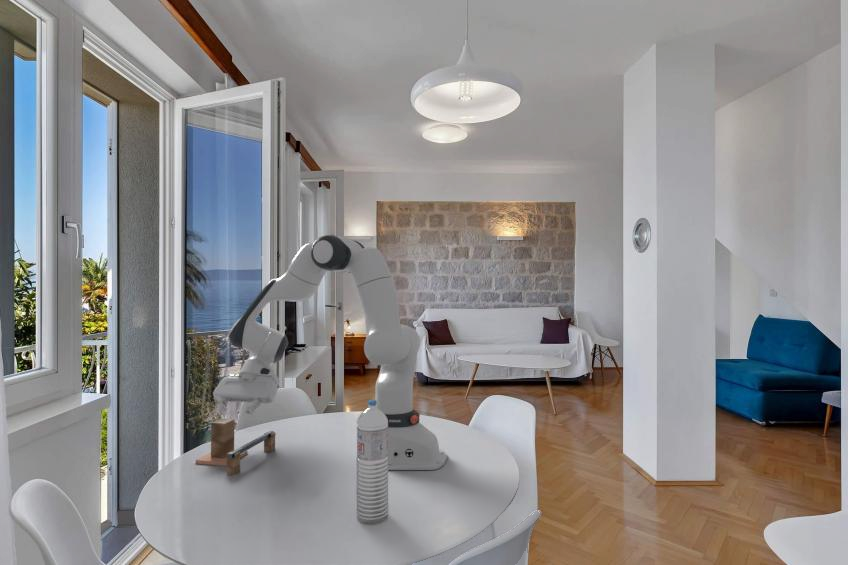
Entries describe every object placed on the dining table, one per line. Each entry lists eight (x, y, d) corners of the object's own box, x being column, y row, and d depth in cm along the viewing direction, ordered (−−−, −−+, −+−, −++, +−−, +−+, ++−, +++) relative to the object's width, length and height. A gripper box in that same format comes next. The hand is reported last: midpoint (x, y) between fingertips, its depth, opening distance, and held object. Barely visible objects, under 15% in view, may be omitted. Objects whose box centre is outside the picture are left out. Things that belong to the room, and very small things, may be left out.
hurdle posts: (275, 449, 140) (275, 432, 140) (235, 475, 120) (235, 454, 120) (267, 449, 140) (267, 431, 140) (226, 474, 120) (226, 453, 120)
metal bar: (273, 434, 140) (274, 431, 140) (232, 458, 120) (232, 454, 120) (270, 434, 140) (270, 430, 140) (228, 458, 120) (228, 453, 120)
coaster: (247, 453, 136) (247, 450, 136) (226, 466, 126) (226, 462, 126) (218, 451, 138) (218, 448, 138) (195, 463, 128) (195, 460, 128)
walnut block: (234, 453, 134) (234, 419, 134) (224, 458, 129) (224, 423, 130) (220, 452, 135) (221, 418, 135) (210, 457, 130) (211, 422, 131)
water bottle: (386, 525, 93) (386, 404, 93) (353, 525, 93) (353, 404, 94) (389, 509, 99) (389, 397, 100) (359, 509, 100) (359, 397, 100)
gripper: (221, 369, 148) (200, 405, 138) (277, 370, 144) (260, 408, 134) (229, 380, 152) (210, 416, 142) (284, 381, 148) (268, 419, 138)
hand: (234, 412), depth 138 cm, fingers open, 8 cm apart
